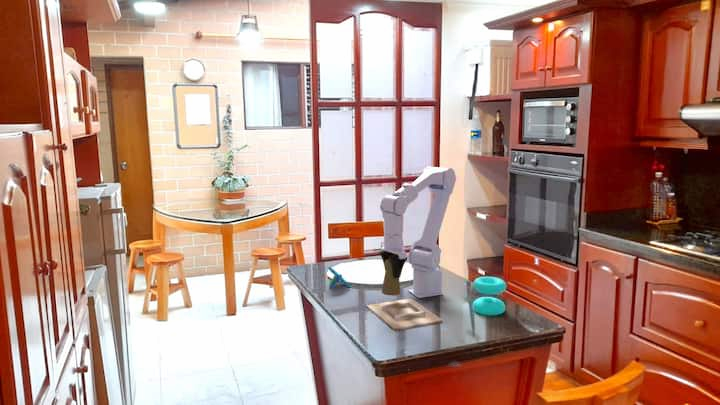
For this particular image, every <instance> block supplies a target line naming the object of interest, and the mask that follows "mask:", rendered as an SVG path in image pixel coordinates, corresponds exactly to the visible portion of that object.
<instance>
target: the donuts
mask: <svg viewBox="0 0 720 405" xmlns="http://www.w3.org/2000/svg"><path fill="white" fill-rule="evenodd" d="M473 288H474V289H475V290H476V291H477V292H478V293H481V294H484V295H499V294H502V293H504V292H505V291H506V289H507V283H506V282H505V281H504V280H503V279H502V278H499V277H495V276H480V277H477V278H475V279H474V281H473ZM472 309H473V310H474V311H475V312H476V313H477V314H481V315H482V316H492V317H493V316H500V315H501V314H503V313H505V311H506V304H505V302H503V301H502V300H501V299H499V298H496V297H493V296H482V297H478V298H476V299H475V300H474V301H473V302H472Z"/></svg>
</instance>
